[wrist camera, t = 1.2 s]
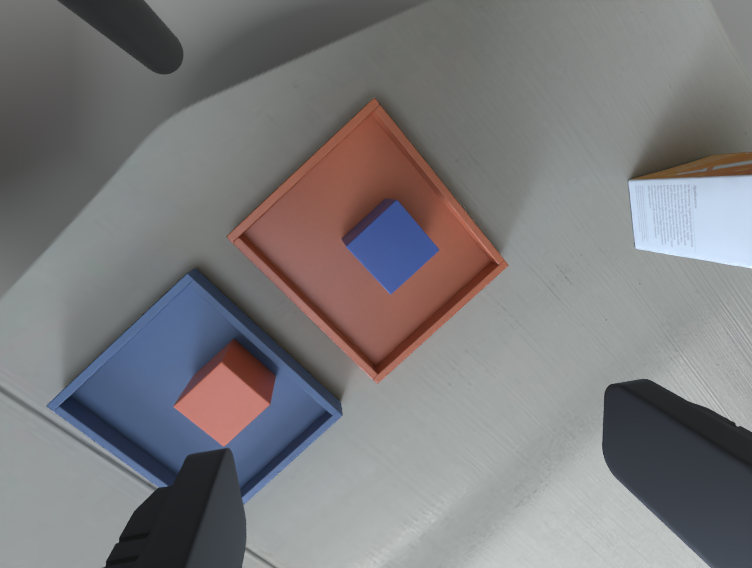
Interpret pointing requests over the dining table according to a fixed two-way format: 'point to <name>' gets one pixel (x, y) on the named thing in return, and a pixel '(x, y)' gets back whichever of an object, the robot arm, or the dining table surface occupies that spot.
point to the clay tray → (341, 268)
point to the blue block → (390, 244)
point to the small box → (697, 210)
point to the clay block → (227, 393)
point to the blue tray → (172, 374)
